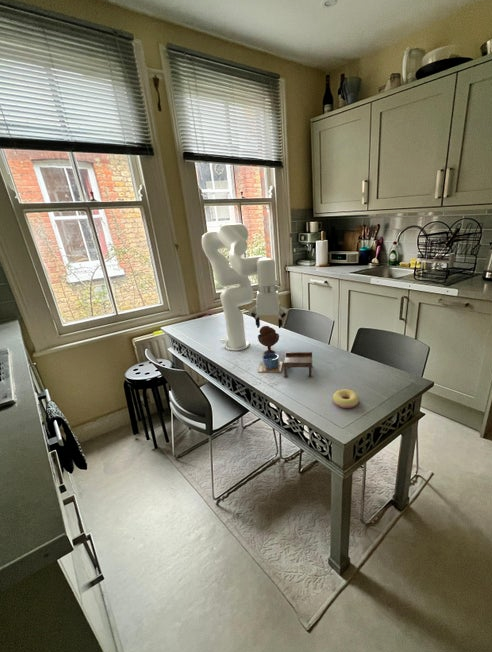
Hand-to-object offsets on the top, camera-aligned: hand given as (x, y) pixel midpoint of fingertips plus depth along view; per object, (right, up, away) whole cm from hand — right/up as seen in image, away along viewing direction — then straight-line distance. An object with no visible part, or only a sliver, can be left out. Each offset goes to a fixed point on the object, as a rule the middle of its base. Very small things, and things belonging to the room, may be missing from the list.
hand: (269, 327), depth 140 cm
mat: (+1, -18, +6) cm, 19 cm away
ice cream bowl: (-1, -12, +21) cm, 24 cm away
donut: (+30, -30, -22) cm, 48 cm away
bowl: (+1, -18, +6) cm, 19 cm away
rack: (+13, -20, +1) cm, 24 cm away
